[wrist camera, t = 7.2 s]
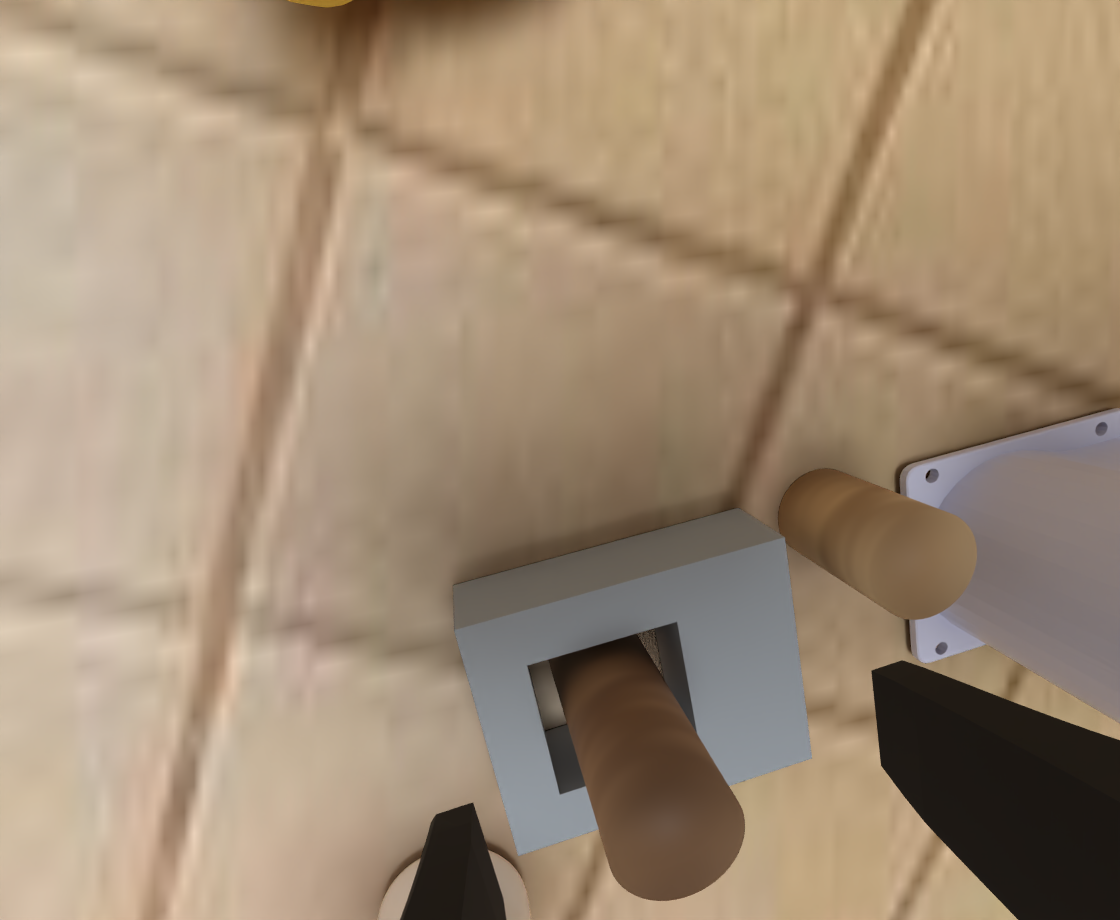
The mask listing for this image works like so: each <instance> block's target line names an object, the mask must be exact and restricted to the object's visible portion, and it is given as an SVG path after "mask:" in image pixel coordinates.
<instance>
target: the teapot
mask: <svg viewBox="0 0 1120 920" xmlns="http://www.w3.org/2000/svg"><path fill="white" fill-rule="evenodd" d="M287 1H290V2H295V3H300V4H305V5H312V6H319V7H326V8H327V7H334V6H340V5H345V4H346V3H348V2H350V1H352V0H287Z"/></svg>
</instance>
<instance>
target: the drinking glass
mask: <svg viewBox="0 0 1120 920" xmlns="http://www.w3.org/2000/svg"><path fill="white" fill-rule="evenodd" d="M488 851H489V855H490V858H491V861H492V864H493V867H494V870H495V873H496V877H497V880H498V883H499V886H500V889H501V892H502V896H503V899H504V906H505V913H506V920H532V919H531V912H530V905H529V899H528V894H527V890H526V887H525V884H524V882H523V880H522V878H521V876H520V874H519V873H518V871H517V870H516V869H515V868H514V866H513V865H512V864H511V863H509V862H508V861H507V860H506V859H505V858H503V857H502V856H500V855H498V854H497V853H494V852H492V851H490V850H488ZM420 859H421V858H420ZM420 859H418V860H416V861H415V862H413V863H412V864H410V865H409V866H408V867H407V868H405V869H404V870H403V871H402V872H401V873H400V874H399V875H398V877H397V878H396V879H395V880H394V881H393V883H392V884H391V885H390V887H389V889H388V890H387V892H386V894H385V896H384V898H383V901H382V903H381V906H380V910H379V914H378V919H377V920H400V918H401V915H402V913H403V910H404V907H405V905H406V902H407V899H408V896H409V893H410V890H411V887H412V884H413V881H414V878H415V875H416V872H417V869H418V866H419V862H420Z"/></svg>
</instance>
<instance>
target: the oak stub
mask: <svg viewBox="0 0 1120 920" xmlns="http://www.w3.org/2000/svg"><path fill="white" fill-rule="evenodd" d="M778 525H779V529H780V532H781V535H782V536H784V537H785V542H786V543H787V544H788V545H789V546H790V547H791V548H793V549H794V550H796V551H797V552H799V553H800V554H802V555H803V556H805V557H806V558H808V559H809V560H811V561H812V562H814V563H816V564H817V565H819V566H820V567H822V568H823V569H825V570H826V571H828V572H829V573H831V574H832V575H834V576H835V577H837V578H838V579H840V580H842V581H843V582H845V583H846V584H848V585H849V586H851V587H852V588H854V589H855V590H857V591H858V592H860V593H861V594H863V595H864V596H866V597H868V598H869V599H871V600H872V601H874V602H875V603H877V604H878V605H880V606H881V607H883V608H884V609H886V610H887V611H889V612H890V613H892V614H894V615H896V616H898V617H900V618H903V619H909V620H919V619H925V618H929V617H932V616H934V615H937V614H939V613H941V612H943V611H944V610H946V609H947V608H948V607H950V606H951V605H952V604H953V603H954V602H955V601H956V600H957V599H958V598H959V597H960V596H961V595H962V594H963V592H964V591H965V589H966V588H967V586H968V585H969V583H970V581H971V579H972V576H973V573H974V570H975V566H976V561H977V546H976V541H975V538H974V535H973V533H972V531H971V529H970V528H969V526H968V525H967V524H966V523H965V522H964V521H963V520H962V519H961V518H959V517H957V516H956V515H954V514H951V513H948V512H946V511H943V510H941V509H938V508H935V507H933V506H930V505H927V504H925V503H922V502H919V501H917V500H914V499H911V498H909V497H906V496H904V495H901V494H898V493H896V492H893V491H890V490H888V489H885V488H882V487H880V486H877V485H874V484H872V483H869V482H866V481H864V480H861V479H859V478H856V477H853V476H851V475H848V474H845V473H843V472H840V471H837V470H834V469H817V470H814V471H811V472H808V473H806V474H804V475H803V476H801V477H800V478H798V479H797V480H796V481H795V482H794V483H793V484H792V485H791V486H790V487H789V488H788V490H787V491H786V493H785V495H784V496H783V499H782V501H781V504H780V507H779V512H778Z"/></svg>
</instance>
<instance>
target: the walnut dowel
mask: <svg viewBox="0 0 1120 920" xmlns="http://www.w3.org/2000/svg"><path fill="white" fill-rule="evenodd" d="M549 663H550V667H551V671H552V674H553V678H554V681H555V684H556V688H557V691H558V694H559V698H560V701H561V705H562V708H563V711H564V715H565V718H566V721H567V725H568V728H569V731H570V735H571V738H572V741H573V745H574V748H575V752H576V755H577V758H578V762H579V765H580V768H581V772H582V775H583V778H584V782H585V785H586V789H587V792H588V795H589V799H590V802H591V805H592V809H593V812H594V815H595V819H596V822H597V825H598V829H599V832H600V836H601V839H602V842H603V846H604V849H605V852H606V856H607V859H608V862H609V866H610V869H611V871H612V874H613V876H614V877H615V879H616V880H617V882H618V883H619V884H620V885H621V886H622V887H623V888H624V889H626V890H627V891H628V892H630V893H632V894H634V895H635V896H638V897H641V898H644V899H648V900H656V901H668V900H676V899H680V898H684V897H687V896H690V895H693V894H695V893H697V892H699V891H701V890H703V889H705V888H706V887H708V886H709V885H711V884H712V883H713V882H715V881H716V880H717V879H718V878H720V877H721V876H722V875H723V874H724V873H725V872H726V870H727V869H728V868H729V867H730V866H731V864H732V863H733V861H734V860H735V858H736V856H737V855H738V853H739V850H740V848H741V846H742V842H743V839H744V832H745V820H744V814H743V811H742V808H741V806H740V804H739V802H738V800H737V799H736V797H735V795H734V794H733V792H732V791H731V789H730V787H729V786H728V784H727V782H726V781H725V779H724V777H723V776H722V774H721V772H720V771H719V769H718V767H717V766H716V764H715V763H714V761H713V759H712V758H711V756H710V754H709V753H708V751H707V749H706V748H705V746H704V744H703V743H702V741H701V739H700V738H699V736H698V735H697V733H696V731H695V730H694V728H693V726H692V725H691V723H690V721H689V720H688V718H687V716H686V715H685V713H684V711H683V710H682V708H681V707H680V705H679V703H678V702H677V700H676V698H675V697H674V695H673V693H672V692H671V690H670V688H669V687H668V685H667V683H666V682H665V680H664V679H663V677H662V675H661V674H660V672H659V670H658V669H657V667H656V665H655V664H654V662H653V660H652V659H651V657H650V655H649V654H648V652H647V650H646V649H645V647H644V646H643V644H642V642H641V641H640V639H639V637H638V636H637V634H633V635H630V636H626V637H623V638H620V639H616V640H613V641H609V642H606V643H603V644H599V645H596V646H592V647H589V648H586V649H582V650H579V651H575V652H572V653H568V654H565V655H562V656H558V657H555V658H551V659H549Z"/></svg>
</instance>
